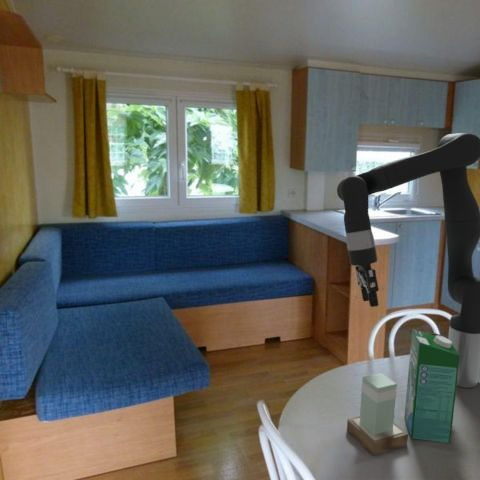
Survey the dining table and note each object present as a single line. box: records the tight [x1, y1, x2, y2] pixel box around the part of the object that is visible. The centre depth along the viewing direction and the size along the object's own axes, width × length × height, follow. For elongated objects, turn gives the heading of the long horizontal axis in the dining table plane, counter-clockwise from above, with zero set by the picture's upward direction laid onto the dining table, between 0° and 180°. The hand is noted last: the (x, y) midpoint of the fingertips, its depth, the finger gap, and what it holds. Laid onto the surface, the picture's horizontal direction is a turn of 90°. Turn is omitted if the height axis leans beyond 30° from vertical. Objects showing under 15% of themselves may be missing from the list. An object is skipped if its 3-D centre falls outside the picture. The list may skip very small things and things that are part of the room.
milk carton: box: [404, 328, 460, 444], centre depth 105 cm, size 9×9×25 cm
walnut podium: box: [346, 415, 409, 457], centre depth 104 cm, size 10×10×3 cm
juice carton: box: [359, 372, 398, 435], centre depth 102 cm, size 6×6×12 cm
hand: (370, 303), depth 120 cm, fingers open, 8 cm apart
